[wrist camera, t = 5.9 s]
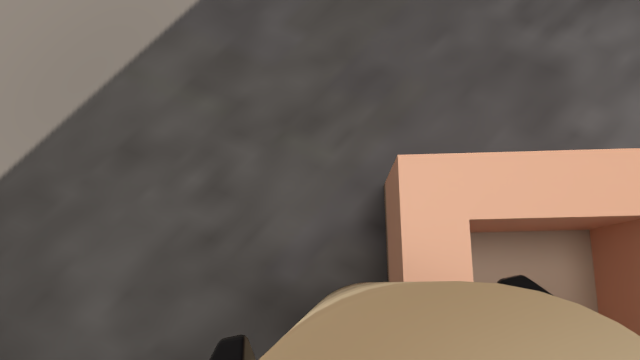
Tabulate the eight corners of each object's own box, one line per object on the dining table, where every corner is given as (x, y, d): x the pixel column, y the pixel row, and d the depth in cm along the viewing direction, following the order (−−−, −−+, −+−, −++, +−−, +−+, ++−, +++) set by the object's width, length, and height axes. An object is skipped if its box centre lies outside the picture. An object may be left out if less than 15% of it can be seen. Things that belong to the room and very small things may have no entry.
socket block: (662, 440, 21) (775, 495, 15) (394, 443, 21) (414, 498, 16) (629, 178, 23) (720, 145, 17) (384, 184, 23) (397, 155, 18)
